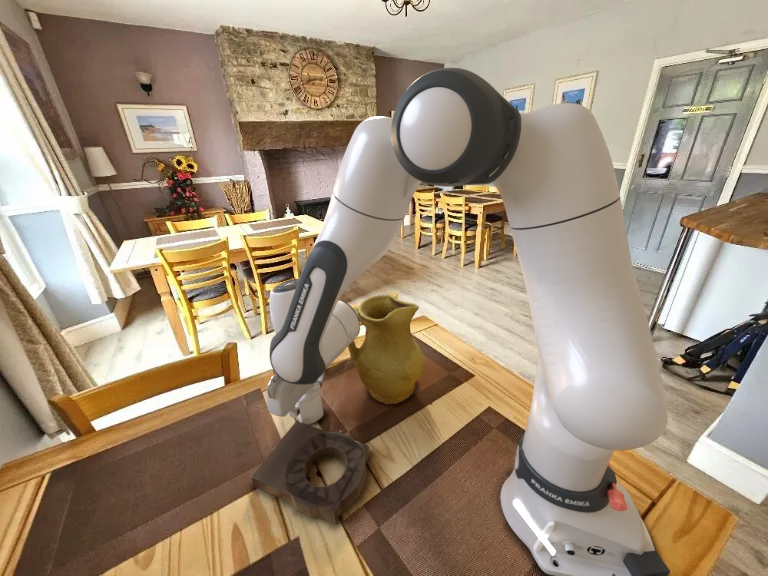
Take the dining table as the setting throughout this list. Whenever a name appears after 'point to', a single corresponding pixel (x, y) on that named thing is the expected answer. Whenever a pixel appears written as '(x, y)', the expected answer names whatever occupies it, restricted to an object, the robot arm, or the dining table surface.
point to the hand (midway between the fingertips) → (307, 400)
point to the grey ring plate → (295, 458)
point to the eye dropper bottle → (310, 406)
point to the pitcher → (387, 349)
